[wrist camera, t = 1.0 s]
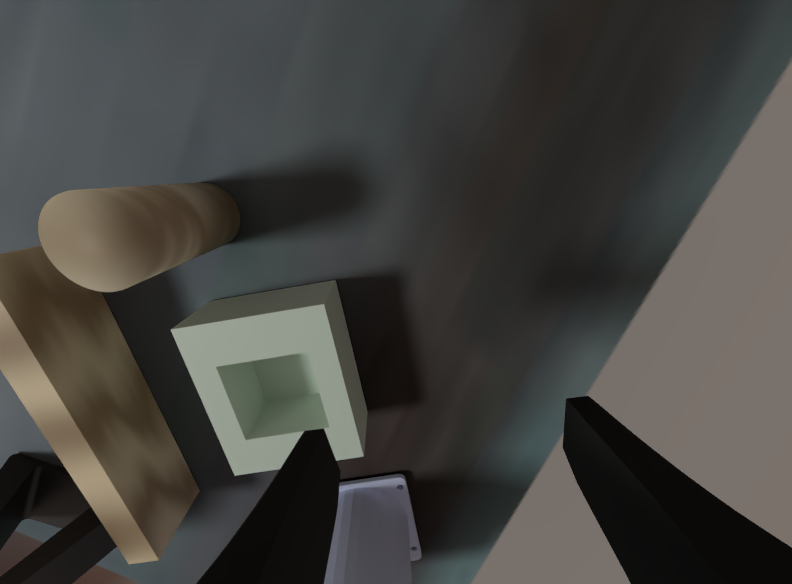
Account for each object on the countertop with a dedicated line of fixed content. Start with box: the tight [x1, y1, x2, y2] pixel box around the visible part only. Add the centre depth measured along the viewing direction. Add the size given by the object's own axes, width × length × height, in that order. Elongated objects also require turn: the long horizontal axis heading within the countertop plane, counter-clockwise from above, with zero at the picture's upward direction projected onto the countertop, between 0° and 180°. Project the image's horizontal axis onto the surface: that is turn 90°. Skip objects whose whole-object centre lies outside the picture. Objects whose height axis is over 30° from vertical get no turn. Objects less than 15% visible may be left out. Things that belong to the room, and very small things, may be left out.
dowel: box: [38, 182, 241, 292], centre depth 16 cm, size 4×4×8 cm
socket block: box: [171, 280, 367, 476], centre depth 21 cm, size 10×8×4 cm
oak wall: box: [0, 245, 200, 564], centre depth 21 cm, size 20×2×5 cm, turn 10°
